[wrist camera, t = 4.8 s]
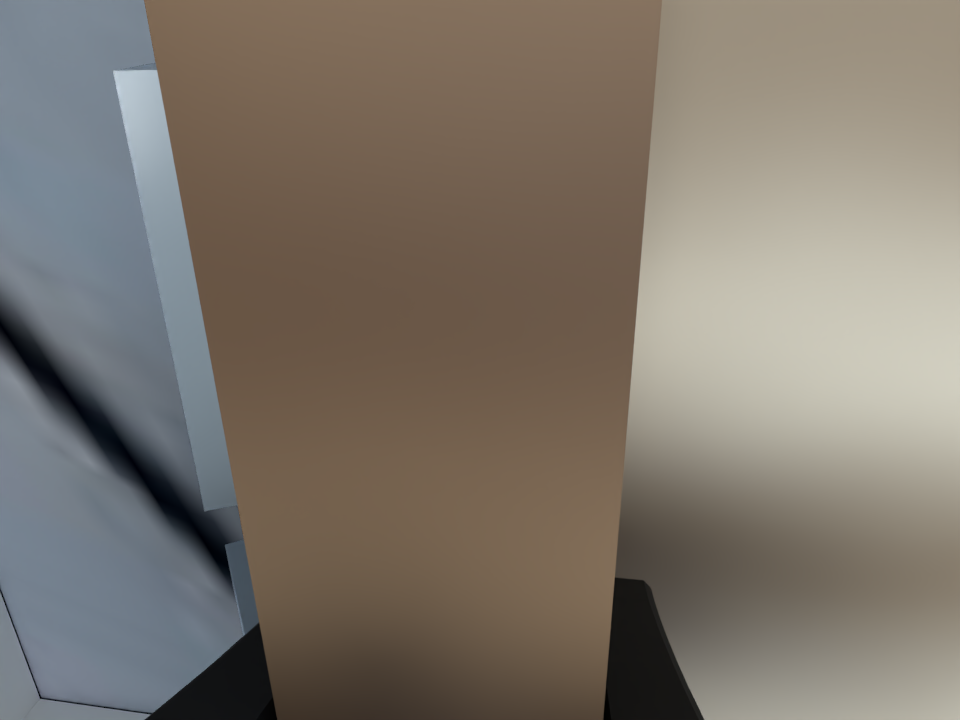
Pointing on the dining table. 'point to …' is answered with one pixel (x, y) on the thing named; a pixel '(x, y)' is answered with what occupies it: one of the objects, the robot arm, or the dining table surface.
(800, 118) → the birch plate
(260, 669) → the robot arm
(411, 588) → the scraper bar
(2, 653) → the box
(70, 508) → the dining table surface
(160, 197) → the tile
